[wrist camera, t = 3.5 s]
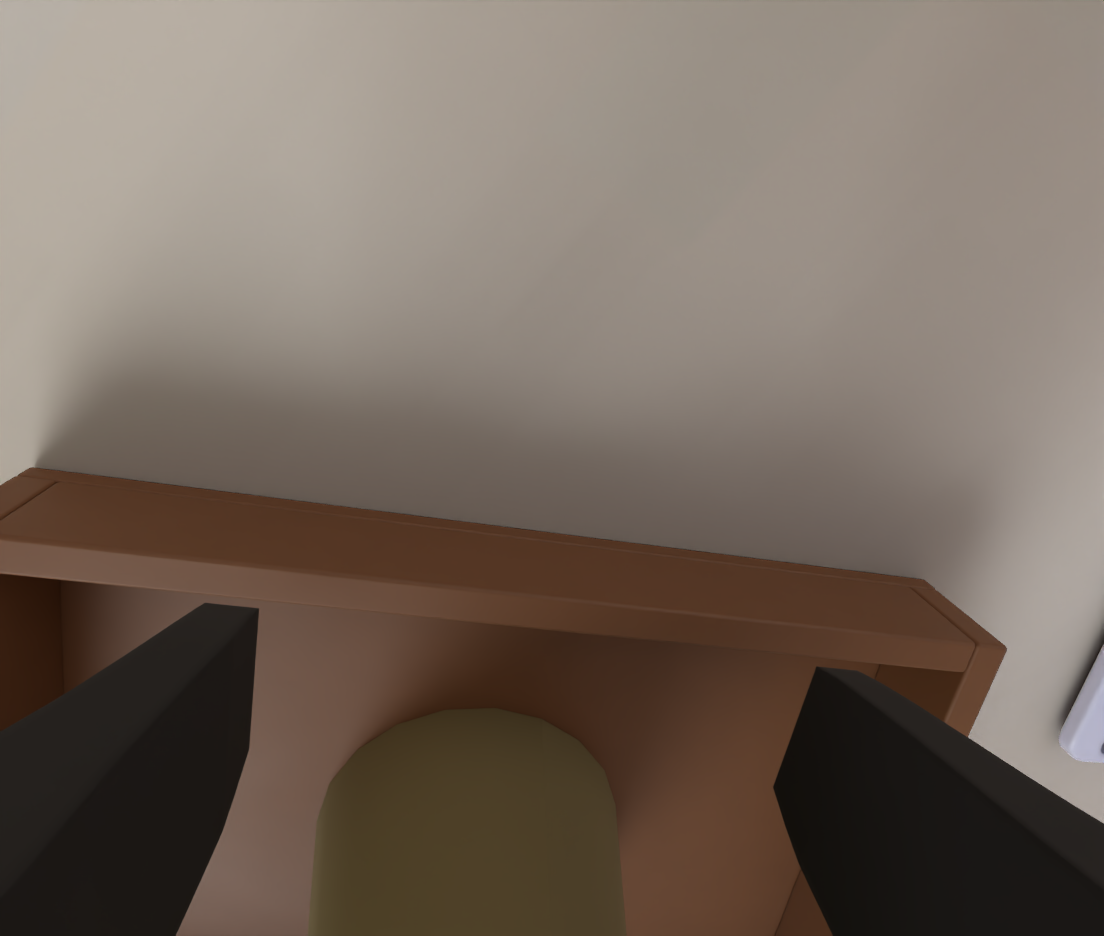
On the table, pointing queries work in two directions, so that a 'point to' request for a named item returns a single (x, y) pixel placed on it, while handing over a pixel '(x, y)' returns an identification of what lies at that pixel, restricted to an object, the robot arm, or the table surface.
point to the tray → (478, 671)
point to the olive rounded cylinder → (468, 834)
